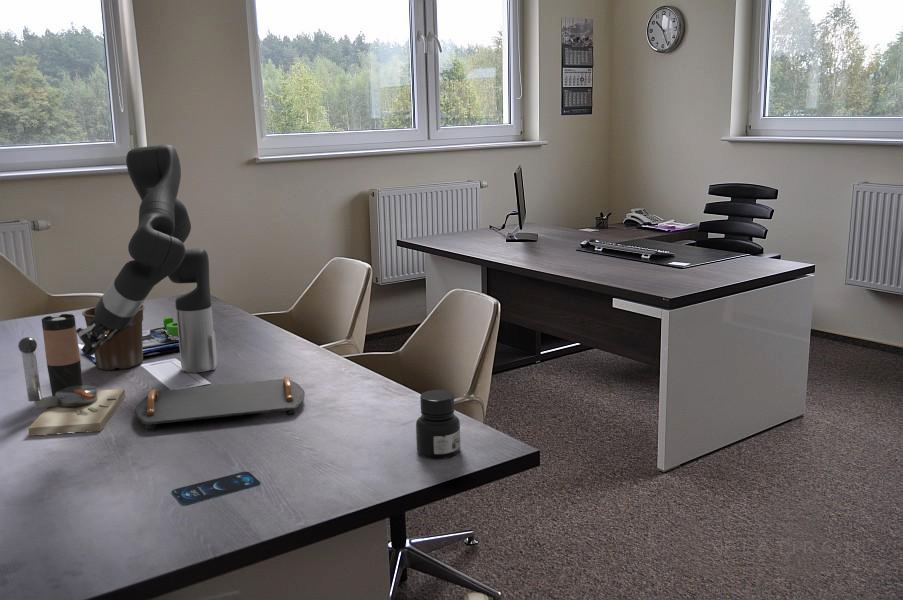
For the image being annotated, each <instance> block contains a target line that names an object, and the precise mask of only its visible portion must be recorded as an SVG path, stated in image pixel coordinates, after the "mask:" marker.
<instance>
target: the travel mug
mask: <svg viewBox="0 0 903 600" xmlns="http://www.w3.org/2000/svg"><path fill="white" fill-rule="evenodd" d="M41 325H42V326H41V327H42V333H43V334H42V335H43V341H44V352H45V360H46V366H47V373H48V379H49V386H50V389H51V390H50V391H51V396H54V395H55V394H56V392H57V391H59V390H61V389H64V388H68V387H72V386H80V385H83V375H82V365H81V364H82V363H81V353H80V347H79V338H78V334H77V332H76V330H77V324H76V318H75V315H74V314H70V313H62V314H60V315H58V316H52V315H48V316H44V317H42V318H41Z"/></svg>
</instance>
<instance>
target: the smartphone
mask: <svg viewBox="0 0 903 600" xmlns="http://www.w3.org/2000/svg"><path fill="white" fill-rule="evenodd" d="M261 483H262V482H261V481H260V480H259V479H257V478H256V477H255V476H254V475H253V474H252V473H251V472H250V471H240V472H237V473H233V474H229V475H224V476H221V477H217V478H214V479H209V480H206V481H202V482H197V483H193V484H189V485H186V486H182V487H177V488H174V489H172V490H171V494H172V495H173V496H175V497H174V498H175V499H176V500H177V502H178V503H179V502H180V503H179V504H180V505H181V504H182V506H189V505H192V504H191V503H193V504H196V503H195V502H197V503H200V502H199V501H201V502H204V501H203V500H205V501H207V500H206V499H208V500H211V499H210V498H212V499H214V498H213V497H215V498H218V497H217V496H219V497H222V496H225V495H224V494H226V495H229V494H228V493H230V494H232V492H233V493H236V491H237V492H240V491H239V490H241V491H244V490H246V489H251V487H252V488H255V487H258V486H260V485H261ZM243 489H244V490H243ZM221 495H222V496H221ZM188 504H189V505H188Z"/></svg>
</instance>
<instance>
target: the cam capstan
mask: <svg viewBox="0 0 903 600" xmlns="http://www.w3.org/2000/svg"><path fill="white" fill-rule="evenodd" d="M37 347H38V343H37V341H36V340H35V339H34V338H33V337H28V336H27V337H23V338H21V339H20V340H19V341H18V347H17V348H18V349H19V351H20V352H21V358H22V364H23V365H22V366H23V373H24V379H25V387H26V393H27V401H28V402H33V403H34V404H33V405H34V409H35V410H43V409H46V408H48V407H52V406H59V407H64V408H73V407H80V406H85V405H89V404H91V403H94V402H95V401H97V399H98V396H97V391H98V389H97V387H96V386H95V385H94V386H93V385H89V384H82V385H80V386H72V387H68V388H64V389H61V390H59V391H57V392H56V394H55V395H54V396H52V395H50V396H45V397H42V391H41V385H40V375H39V369H38V368H39V367H38V362H37V354H36V353H37V352H36V350H37Z"/></svg>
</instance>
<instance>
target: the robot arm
mask: <svg viewBox="0 0 903 600" xmlns="http://www.w3.org/2000/svg"><path fill="white" fill-rule="evenodd" d="M125 158H126V159H125V161H126V163H125V164H126V169H127V171H128V172H127V173H128V175H129V177H130V180H131V183H132V184H133V187H134V188H135V191H136V192H137V194H138V195H139V198H140V199H141V203H140V205H139V209H138V225H137V227H136V230H135V232H134V233H133V235H132V236H131V238H130V239H129V242H128V246H127V247H128V248H127V251H128V254H129V256H130V257H131V258H132V260H129V261H127V262H126V263H125V264H124V265H123V267H122V268H121V269H120V271H119V273H118V274H117V275H116V277H115V279H114V280H113V281H112V282H111V283H110V284H109V285H108V287H107V289H106V290H105V292H104V293H103V294H102V295H101V298H100V299H99V301H98V302H97V304H96V305H95V306H94V307H95V318H94V319H93V320H92V321H91V322H90V323H89V327H87V326H86V327H85V328H82V327H79V328H76V332H77V337H79V339H80V340H81V341H82V342H83V343H84V345H83V347H82V348H81V352H82V353H83V355H85V357H91V356H95V354H94V353H95V352H96V350H97V349H98V347H99V346H100V345H103V344H104V342H105V341H107V342H109V341H111V340H112V339H113V338H115V337H116V336H117V335H118V334H120V333H121V332H122V331H124V330H125V329H126V328H128V327H129V326H130V324H129V323H130V322H131V320H132V319H133V318H134V316H135V315H136V313H137V312H138V310H139V309H140V308H141V306H142V305H144V303H145V300H146V298H147V297H148V295H149V293H150V292H151V291H152V290H153V289H154V287H155V286H156V285H158V284H159V283H160V282H161V281H163V280H164V279H166V278H167V277H168V279H169V281H170V282H172V283H174V284H178V285H179V284H196V287H195V288H194V289H193V290H191V291H189V292H187V293H185V294H182V295H180V296H178V297H176V299H175V312H176V313H175V314H176V322H177V325H178V336H179V340H178V344H179V345H178V347H179V352H180V353H179V356H180V366H181V370H182V371H181V372H184V371H185V372H184V373H190V372H193V373H196V374H197V373H205V372H208V371H214V370H216V369H217V366H218V356H217V355H218V354H217V352H218V351H217V345H216V344H217V341H216V331H214V323H213V322H214V321H213V309H212V301H211V298H212V297H211V287H210V285H211V284H210V260H209V259H210V258H209V256H208V252H207V250H206V249H204V248H201V247H200V248H185V244H184V243H185V242H186V240H187V239H188V237H189V235H190V234H191V231H192V230H191V229H192V223H191V219H190V216H189V213H188V210H187V208H186V206H185V204H184V203H183V202H182V201H181V200H180V199H178V193H179V188H180V184H181V177H182V167H181V162H180V158H179V154H178V152H177V150H176V148H175V147H174V146H173V145H170V144H156V145H148V146H140V147H139V146H138V147H135V148H132V149H130V150H129V151H128V152H127V154H126V157H125ZM193 373H192V374H193Z"/></svg>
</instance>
